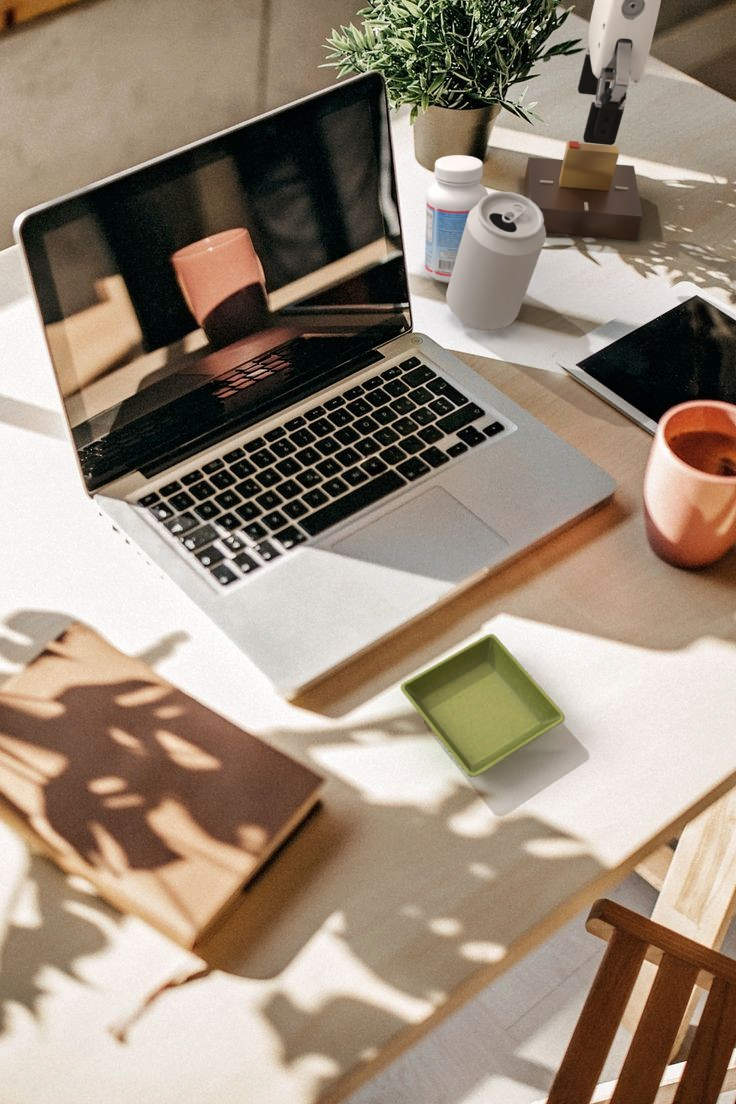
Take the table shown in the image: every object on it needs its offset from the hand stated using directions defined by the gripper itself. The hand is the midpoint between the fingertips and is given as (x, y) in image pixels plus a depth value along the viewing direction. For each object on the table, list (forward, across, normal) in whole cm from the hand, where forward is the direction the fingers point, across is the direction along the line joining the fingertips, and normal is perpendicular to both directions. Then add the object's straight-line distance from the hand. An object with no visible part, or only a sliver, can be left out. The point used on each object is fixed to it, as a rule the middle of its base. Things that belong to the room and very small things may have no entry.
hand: (595, 117), depth 108 cm
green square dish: (+11, -66, +10) cm, 68 cm away
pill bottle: (+11, -14, +13) cm, 22 cm away
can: (+11, -20, +10) cm, 25 cm away
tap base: (+11, 0, -1) cm, 11 cm away
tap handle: (+8, 0, -1) cm, 8 cm away
